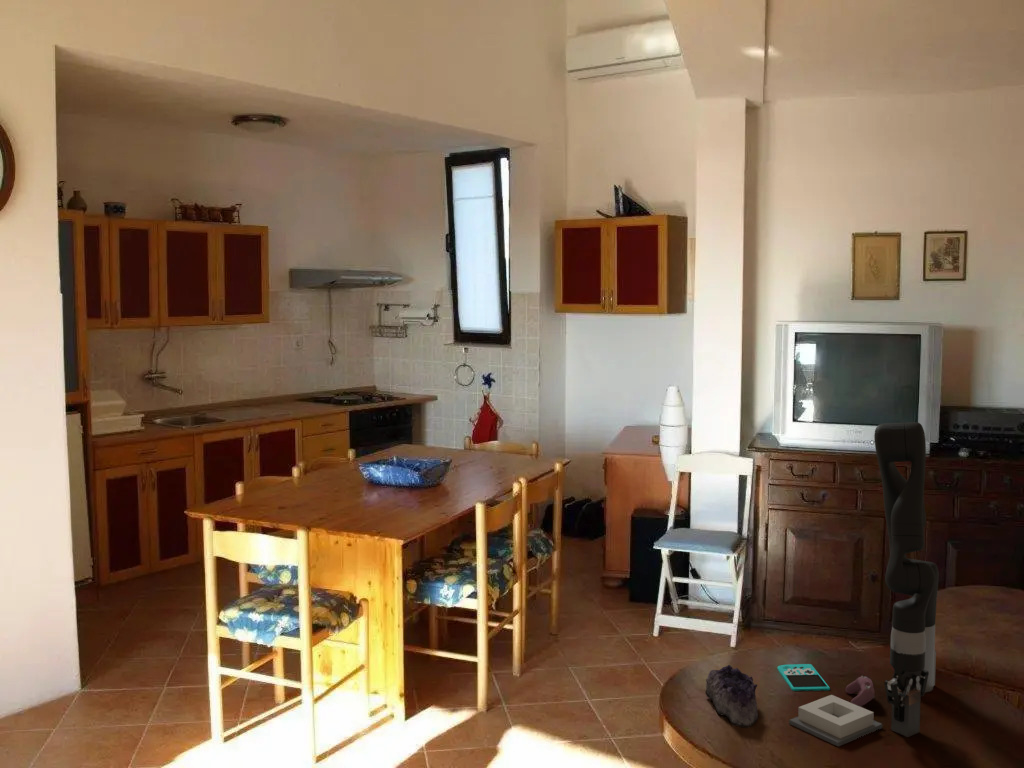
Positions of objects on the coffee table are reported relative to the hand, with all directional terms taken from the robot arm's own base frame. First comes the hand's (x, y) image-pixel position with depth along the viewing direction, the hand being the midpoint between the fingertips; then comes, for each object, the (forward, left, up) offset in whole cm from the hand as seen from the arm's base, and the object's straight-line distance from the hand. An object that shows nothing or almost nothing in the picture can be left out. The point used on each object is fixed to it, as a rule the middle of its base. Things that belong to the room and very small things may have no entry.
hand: (905, 717), depth 228 cm
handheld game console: (-5, -34, -4) cm, 35 cm away
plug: (0, 0, -3) cm, 3 cm away
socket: (+11, -11, -3) cm, 16 cm away
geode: (+23, -31, -4) cm, 39 cm away
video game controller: (-5, -16, -4) cm, 18 cm away
